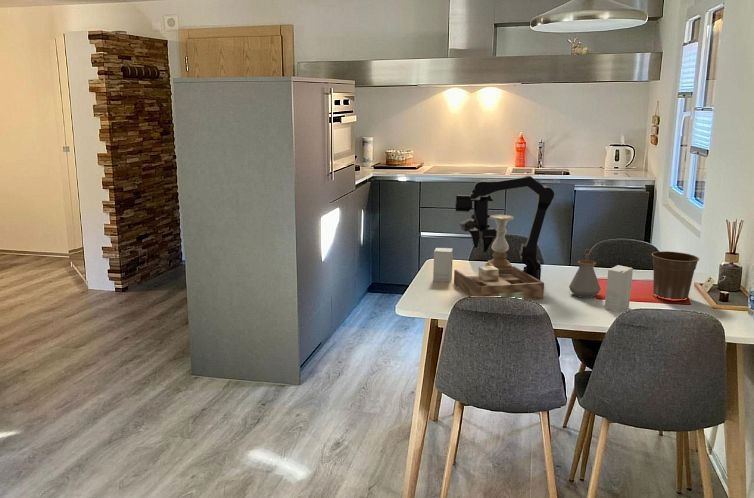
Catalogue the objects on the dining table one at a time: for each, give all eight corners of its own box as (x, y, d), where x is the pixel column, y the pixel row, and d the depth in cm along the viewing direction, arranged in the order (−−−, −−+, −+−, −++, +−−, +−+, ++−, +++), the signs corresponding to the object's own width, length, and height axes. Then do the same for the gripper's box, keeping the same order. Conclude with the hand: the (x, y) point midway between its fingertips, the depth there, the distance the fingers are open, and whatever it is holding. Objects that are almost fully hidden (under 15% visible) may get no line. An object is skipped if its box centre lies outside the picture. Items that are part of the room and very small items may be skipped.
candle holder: (513, 273, 285) (516, 218, 280) (488, 273, 286) (490, 218, 280) (509, 267, 296) (512, 214, 291) (484, 267, 296) (487, 214, 291)
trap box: (513, 280, 274) (514, 266, 273) (543, 298, 250) (544, 282, 248) (453, 284, 269) (454, 269, 267) (478, 302, 244) (478, 286, 243)
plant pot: (691, 293, 258) (695, 252, 254) (697, 305, 242) (702, 262, 239) (645, 289, 262) (649, 249, 259) (649, 301, 247) (654, 258, 243)
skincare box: (613, 304, 243) (617, 264, 240) (630, 307, 239) (633, 267, 236) (603, 309, 237) (607, 268, 234) (620, 312, 233) (623, 271, 230)
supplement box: (450, 282, 271) (451, 251, 269) (432, 281, 273) (433, 251, 270) (452, 277, 278) (453, 248, 276) (434, 276, 280) (435, 247, 277)
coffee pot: (600, 300, 247) (603, 261, 244) (567, 297, 251) (570, 258, 248) (600, 286, 267) (603, 249, 264) (570, 283, 271) (572, 247, 268)
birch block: (492, 275, 271) (492, 265, 270) (498, 279, 265) (498, 269, 264) (478, 276, 269) (478, 266, 268) (484, 280, 264) (484, 270, 263)
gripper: (453, 209, 275) (453, 246, 278) (471, 216, 257) (470, 256, 261) (478, 208, 278) (477, 244, 281) (498, 215, 260) (496, 254, 264)
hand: (480, 249), depth 272 cm, fingers open, 9 cm apart
